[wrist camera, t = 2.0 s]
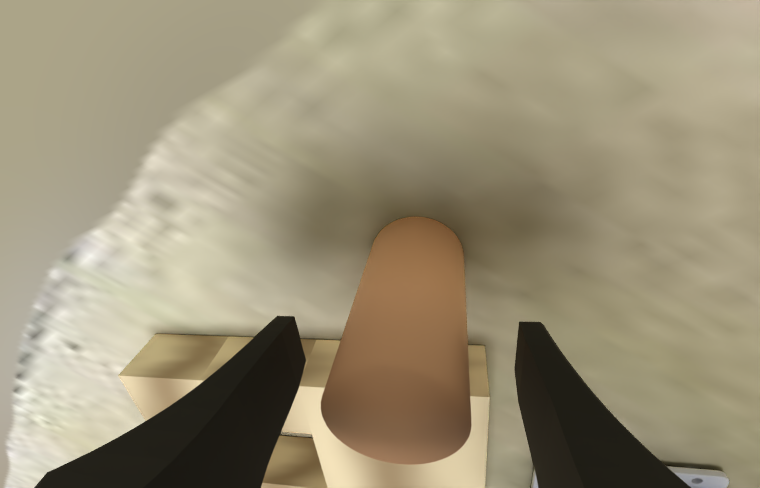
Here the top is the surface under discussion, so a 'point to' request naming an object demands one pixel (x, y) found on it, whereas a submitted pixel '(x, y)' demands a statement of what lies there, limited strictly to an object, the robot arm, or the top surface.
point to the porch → (308, 416)
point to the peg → (404, 350)
